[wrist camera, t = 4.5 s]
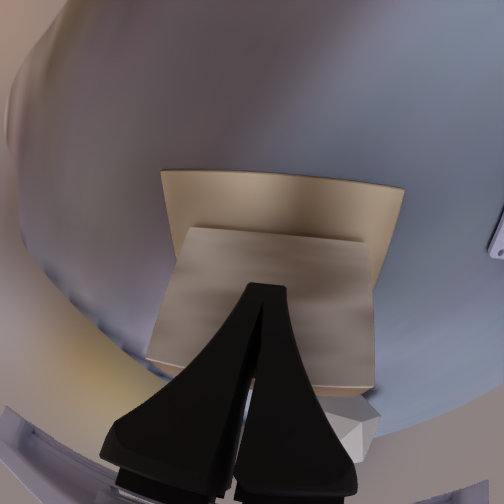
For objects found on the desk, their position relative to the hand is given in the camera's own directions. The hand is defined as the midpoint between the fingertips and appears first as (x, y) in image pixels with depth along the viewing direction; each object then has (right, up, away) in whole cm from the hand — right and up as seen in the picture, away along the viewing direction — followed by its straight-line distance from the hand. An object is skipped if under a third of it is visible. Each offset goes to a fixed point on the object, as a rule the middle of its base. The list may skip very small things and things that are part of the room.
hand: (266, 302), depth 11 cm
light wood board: (+1, -1, +7) cm, 7 cm away
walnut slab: (+1, +2, +4) cm, 5 cm away
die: (+8, -12, +15) cm, 21 cm away
